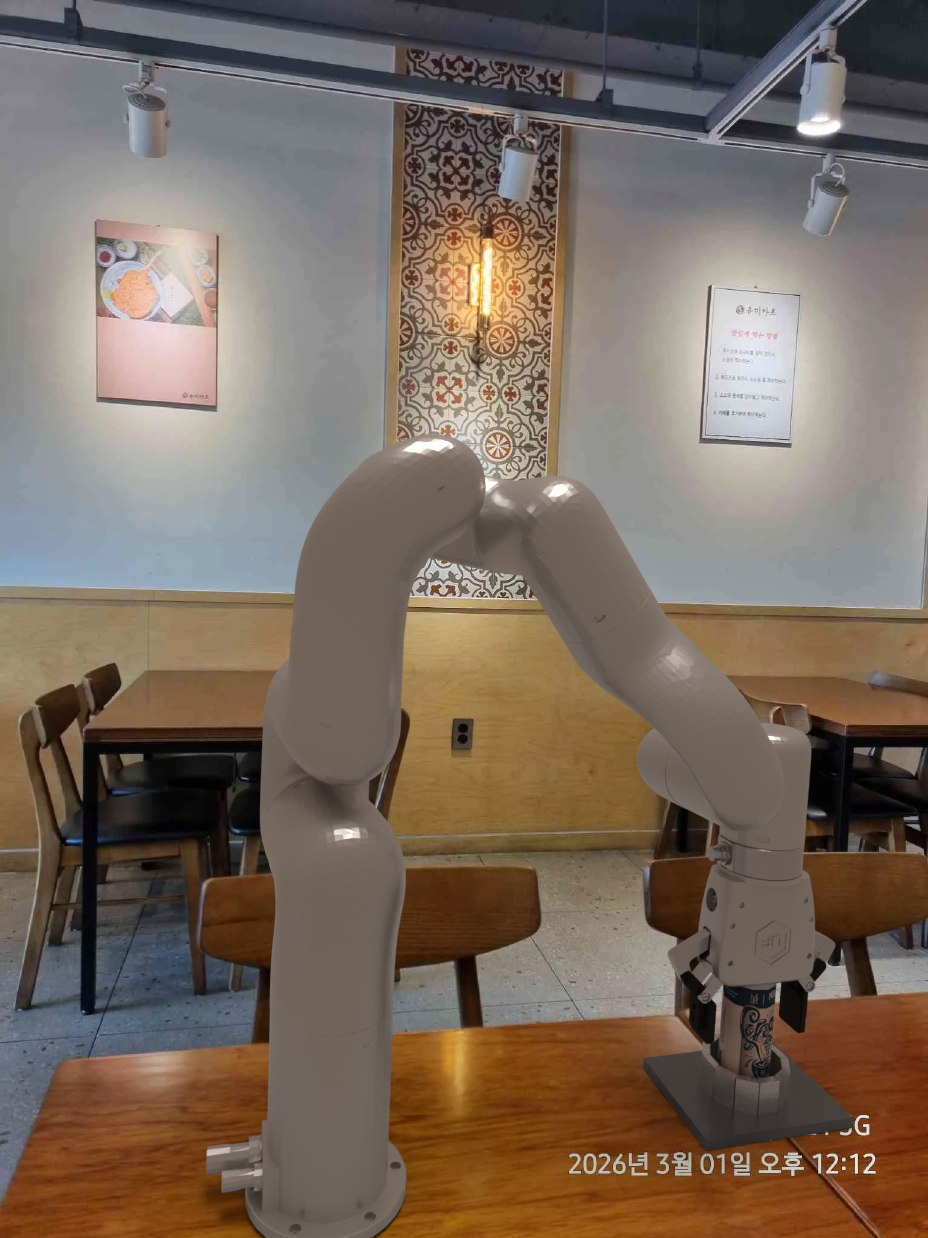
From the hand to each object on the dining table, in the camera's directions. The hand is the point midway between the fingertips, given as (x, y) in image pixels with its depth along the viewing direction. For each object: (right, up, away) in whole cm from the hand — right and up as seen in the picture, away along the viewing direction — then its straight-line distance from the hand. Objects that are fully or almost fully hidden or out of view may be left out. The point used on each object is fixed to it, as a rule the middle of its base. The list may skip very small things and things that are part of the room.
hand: (747, 1030), depth 80 cm
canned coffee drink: (0, -6, 0) cm, 6 cm away
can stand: (0, -7, +1) cm, 7 cm away
